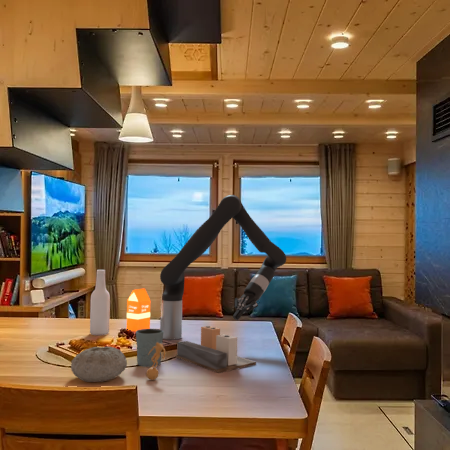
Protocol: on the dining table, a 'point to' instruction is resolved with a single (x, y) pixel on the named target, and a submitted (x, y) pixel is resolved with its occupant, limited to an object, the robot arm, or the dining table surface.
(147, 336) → the blue-grey cup
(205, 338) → the two dot button
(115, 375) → the grey rounded rock
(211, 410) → the dining table surface
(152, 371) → the figurine
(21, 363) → the dining table surface
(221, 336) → the one dot button
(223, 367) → the console
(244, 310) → the robot arm
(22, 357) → the dining table surface
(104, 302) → the alcohol
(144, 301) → the orange juice
